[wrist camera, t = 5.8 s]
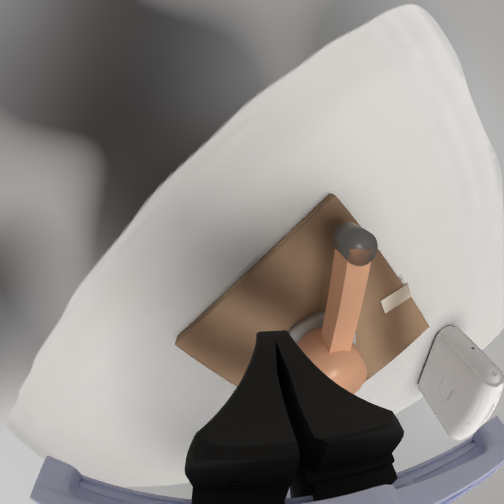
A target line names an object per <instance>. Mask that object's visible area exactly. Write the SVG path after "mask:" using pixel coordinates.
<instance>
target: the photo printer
mask: <svg viewBox="0 0 504 504" xmlns="http://www.w3.org/2000/svg"><path fill="white" fill-rule="evenodd" d="M503 385H504V375H503V373H502V371H501V370H500V369H499V368H498V367H497V366H496V364H495V363H494V362H493V361H492V360H491V359H490V358H489V357H488V356H487V355H486V354H485V353H484V352H483V351H482V350H481V349H480V348H479V347H478V346H477V345H476V344H475V343H474V342H473V341H472V340H471V339H470V338H469V337H468V336H467V335H466V334H464V333H463V332H462V331H461V330H460V329H459V328H455V327H454V326H452V325H450V326H446V327H444V328H443V329H442V330H440V332H439V333H438V334H437V336H436V338H435V341H434V343H433V346H432V349H431V351H430V354H429V357H428V359H427V362H426V365H425V367H424V370H423V373H422V375H421V378H420V381H419V384H418V387H419V390H420V391H421V393H422V394H423V396H424V398H425V399H426V401H427V402H428V404H429V405H430V407H431V409H432V410H433V412H434V413H435V415H436V416H437V418H438V419H439V421H440V423H441V424H442V426H443V427H444V429H445V431H446V432H447V434H448V435H449V436H450V437H451V438H453V439H455V440H462V439H464V438H466V437H468V436H470V435H471V434H473V433H474V432H476V431H477V430H478V428H480V427H481V426H482V425H483V424H484V423H485V422H486V421H487V419H488V418H489V416H490V415H491V414H492V412H493V410H494V409H495V407H496V405H497V403H498V400H499V398H500V395H501V392H502V389H503Z"/></svg>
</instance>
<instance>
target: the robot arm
mask: <svg viewBox="0 0 504 504" xmlns="http://www.w3.org/2000/svg"><path fill="white" fill-rule="evenodd" d="M403 435H404V431H403V429H402V427H401V425H400V423H399V421H398V419H397V418H396V416H395V415H394V413H393V412H392V411H390V410H387V409H385V408H382V407H379V406H377V405H374V404H372V403H369V402H367V401H365V400H363V399H361V398H359V397H357V396H356V395H354V394H352V393H350V392H349V391H347V390H346V389H344V388H342V387H341V386H339V385H338V384H337V383H335V382H334V381H333V380H331V379H330V378H329V377H328V376H327V375H325V374H324V373H323V372H322V371H321V370H320V369H319V368H318V367H317V366H316V365H315V364H314V363H313V362H312V361H311V360H310V359H309V358H308V357H307V356H306V355H305V353H304V352H303V351H302V350H301V349H300V347H299V346H298V345H297V344H296V342H295V341H294V340H293V338H292V337H291V335H290V334H289V332H288V331H286V330H281V331H262V332H258V333H257V334H256V344H255V348H254V351H253V354H252V357H251V360H250V363H249V365H248V367H247V369H246V371H245V374H244V376H243V378H242V379H241V381H240V383H239V385H238V386H237V388H236V390H235V391H234V393H233V394H232V395H231V397H230V398H229V400H228V401H227V402H226V404H225V405H224V406H223V407H222V408H221V409H220V411H219V412H218V413H217V414H216V415H215V416H214V417H213V418H212V419H211V420H210V421H209V422H208V423H207V424H206V425H205V426H204V427H203V428H201V429H200V430H199V431H198V432H197V433H196V434H195V436H194V438H193V441H192V443H191V445H190V447H189V450H188V454H187V457H186V463H185V474H186V476H187V478H188V479H189V481H190V483H191V484H192V486H193V492H192V499H183V498H175V497H168V496H161V495H155V494H150V493H145V492H140V491H135V490H131V489H126V488H123V487H119V486H115V485H112V484H108V483H105V482H101V481H98V480H95V479H92V478H89V477H86V476H83V475H81V473H80V472H79V471H78V470H77V469H75V468H74V467H73V466H71V465H69V464H67V463H65V462H62V461H60V460H58V459H55V458H53V457H51V456H47V457H46V459H45V461H44V464H43V466H42V468H41V471H40V473H39V475H38V478H37V480H36V483H35V485H34V488H33V490H32V493H31V496H30V499H31V500H33V501H34V502H35V503H37V504H450V503H451V502H453V501H454V500H456V499H458V498H459V497H461V496H462V495H464V494H465V493H467V492H468V491H470V490H471V489H472V488H474V487H475V486H477V485H478V484H480V483H481V482H482V481H484V480H485V479H486V478H488V477H489V476H490V475H491V474H493V473H494V472H495V471H496V470H497V469H498V468H499V467H500V466H502V465H503V464H504V424H503V423H502V422H501V420H500V419H499V418H498V416H495V417H494V418H492V419H491V420H489V421H487V422H486V423H484V424H483V425H482V426H481V427H480V428H478V430H477V431H476V432H475V433H474V434H473V436H472V437H471V438H470V439H468V440H466V441H464V442H462V443H461V444H459V445H457V446H455V447H453V448H452V449H450V450H448V451H446V452H444V453H442V454H440V455H438V456H436V457H434V458H432V459H430V460H428V461H425V462H423V463H421V464H418V465H416V466H413V467H411V468H409V469H406V470H404V471H401V472H398V473H396V472H395V470H394V467H393V465H392V463H393V462H394V457H393V455H392V452H393V451H394V450H395V448H396V447H397V446H398V444H399V443H400V441H401V439H402V438H403ZM289 487H290V489H289Z"/></svg>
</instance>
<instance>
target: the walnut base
mask: <svg viewBox="0 0 504 504" xmlns="http://www.w3.org/2000/svg"><path fill="white" fill-rule="evenodd" d="M344 222H353V223H355V224H357V225H358V226H360V225H359V224H358V223H357V221H356V220H355V219H354V218H353V216H352V215H351V214H350V213H349V211H348V210H347V209H346V208H345V206H344V205H343V204H342V203H341V202H340V200H339V199H338V198H337V197H336V196H335V195H333V194H329V195H328V196H327V197H326V198H325V199H324V200H323V201H322V202H321V203H320V204H319V205H317V206H316V207H315V208H314V209H313V210H312V211H311V212H310V213H309V214H308V215H307V216H306V217H305V218H304V219H303V220H302V221H301V222H300V223H299V224H298V225H297V226H295V227H294V228H293V229H292V230H291V231H290V232H289V233H288V234H287V235H286V236H285V237H284V238H283V239H282V240H281V241H280V242H279V243H278V244H276V245H275V246H274V247H273V248H272V249H271V250H270V251H269V252H268V253H267V254H266V255H265V256H264V257H263V258H262V259H261V260H259V261H258V262H257V263H256V264H255V265H254V266H253V267H252V268H251V269H250V270H249V271H248V272H247V273H246V274H245V275H243V276H242V277H241V278H240V279H239V280H238V281H237V282H236V283H235V284H234V285H233V286H232V287H231V288H230V289H228V290H227V291H226V292H225V293H224V294H223V295H222V296H221V297H220V298H219V299H218V300H217V301H216V302H214V303H213V304H212V305H211V306H210V307H209V308H208V309H207V310H206V311H205V312H204V313H203V314H202V315H200V316H199V317H198V318H197V319H196V320H195V321H194V322H193V323H192V324H191V325H190V326H188V327H187V328H186V329H185V330H184V331H183V332H182V333H181V334H180V335H179V336H178V337H177V339H176V342H175V345H176V346H177V347H179V348H180V349H182V350H183V351H184V352H186V353H187V354H188V355H190V356H191V357H193V358H194V359H196V360H197V361H199V362H200V363H201V364H203V365H204V366H206V367H207V368H209V369H210V370H212V371H213V372H215V373H216V374H218V375H220V376H221V377H223V378H224V379H226V380H227V381H229V382H231V383H232V384H234V385H235V386H238V385H239V383H240V381H241V379H242V378H243V376H244V374H245V371H246V369H247V367H248V365H249V363H250V360H251V357H252V354H253V351H254V348H255V344H256V334H257V333H258V332H262V331H281V330H286V331H288V332H289V334H290V335H291V337H292V338H293V340H294V341H295V342H296V344H297V342H298V341H299V340H300V339H301V338H302V337H303V336H304V335H305V334H307V333H308V332H310V331H312V330H314V329H317V328H320V327H323V322H324V316H325V311H326V305H327V299H328V293H329V287H330V281H331V274H332V267H333V260H334V253H335V247H334V246H333V243H332V235H333V232H334V230H335V229H336V227H337V226H339V225H340V224H341V223H344ZM360 227H361V226H360ZM428 327H429V325H428V323H427V322H426V320H425V318H424V317H423V315H422V313H421V312H420V310H419V309H418V307H417V305H416V304H415V302H414V301H413V299H412V298H411V295H410V291H409V287H408V284H407V283H406V284H404V285H403V284H402V283H401V281H400V280H399V278H398V277H397V275H396V274H395V272H394V271H393V269H392V268H391V267H390V265H389V264H388V262H387V261H386V260H385V258H384V257H383V255H382V254H381V253H380V251H379V250H378V249H377V252H376V255H375V257H374V258H373V260H372V261H371V264H370V270H369V275H368V280H367V285H366V289H365V294H364V299H363V303H362V307H361V312H360V316H359V320H358V324H357V328H356V331H355V335H354V339H353V344H354V345H355V347H356V349H357V351H358V353H359V354H360V356H361V358H362V360H363V362H364V363H365V365H366V367H367V377H366V380H368V379H369V378H370V377H372V376H373V375H374V374H376V373H377V372H378V371H379V370H381V369H382V368H383V367H384V366H386V365H387V364H388V363H389V362H391V361H392V360H393V359H394V358H395V357H397V356H398V355H399V354H400V353H401V352H402V351H403V350H405V349H406V348H407V347H408V346H409V345H410V344H411V343H412V342H414V341H415V340H416V339H417V338H418V337H419V336H420V335H421V334H422V333H423V332H424V331H425V330H426V329H427V328H428ZM366 380H365V381H366Z"/></svg>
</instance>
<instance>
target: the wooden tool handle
mask: <svg viewBox="0 0 504 504" xmlns="http://www.w3.org/2000/svg"><path fill="white" fill-rule="evenodd" d="M332 243H333V246H334V247H335V253H334V260H333V267H332V274H331V281H330V287H329V293H328V299H327V305H326V311H325V316H324V322H323V327H320V328H317V329H314V330H312V331H310V332H308V333H307V334H305V335H304V336H303V337H302V338H301V339H300V340H299V341H298V342H297V345H298V346H299V347H300V349H301V350H302V351H303V352H304V353H305V355H306V356H307V357H308V358H309V359H310V360H311V361H312V362H313V363H314V364H315V365H316V366H317V367H318V368H319V369H320V370H321V371H322V372H323V373H324V374H325V375H327V376H328V377H329V378H330V379H331V380H333V381H334V382H335V383H337V384H338V385H339V386H341V387H342V388H344V389H346V390H347V391H349V392H350V393H352V394H354V393H355V392H356V391H358V390H359V388H360V387H361V386H362V385H363V383H364V382H365V380H366V377H367V367H366V365H365V363H364V362H363V360H362V358H361V356H360V354H359V353H358V351H357V349H356V347H355V345H354V344H353V339H354V335H355V331H356V328H357V324H358V320H359V316H360V312H361V307H362V303H363V299H364V294H365V289H366V285H367V280H368V275H369V270H370V264H371V261H372V260H373V258H374V257H375V255H376V252H377V240H376V238H375V237H374V235H372V234H371V233H370V232H368V231H366V230H365V229H363V228H362V227H360V226H358V225H357V224H355V223H353V222H344V223H341V224H340V225H339V226H337V227H336V229H335V230H334V232H333V235H332Z"/></svg>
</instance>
